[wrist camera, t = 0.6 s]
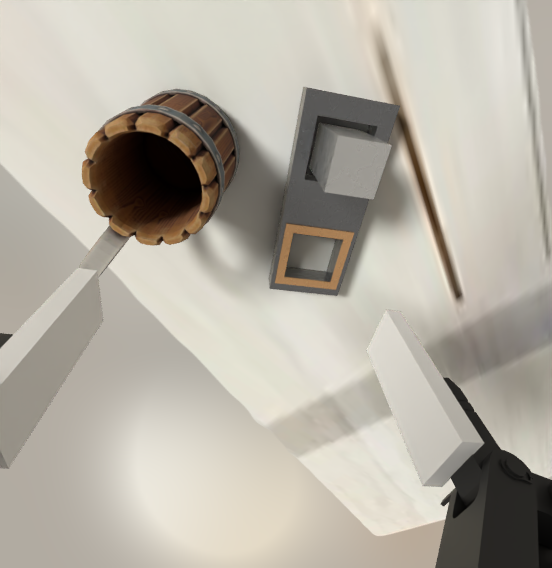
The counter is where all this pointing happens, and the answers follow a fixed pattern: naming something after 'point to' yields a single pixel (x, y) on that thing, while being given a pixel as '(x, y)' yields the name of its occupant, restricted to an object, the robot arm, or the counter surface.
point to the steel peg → (348, 161)
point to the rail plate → (322, 193)
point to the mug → (158, 171)
